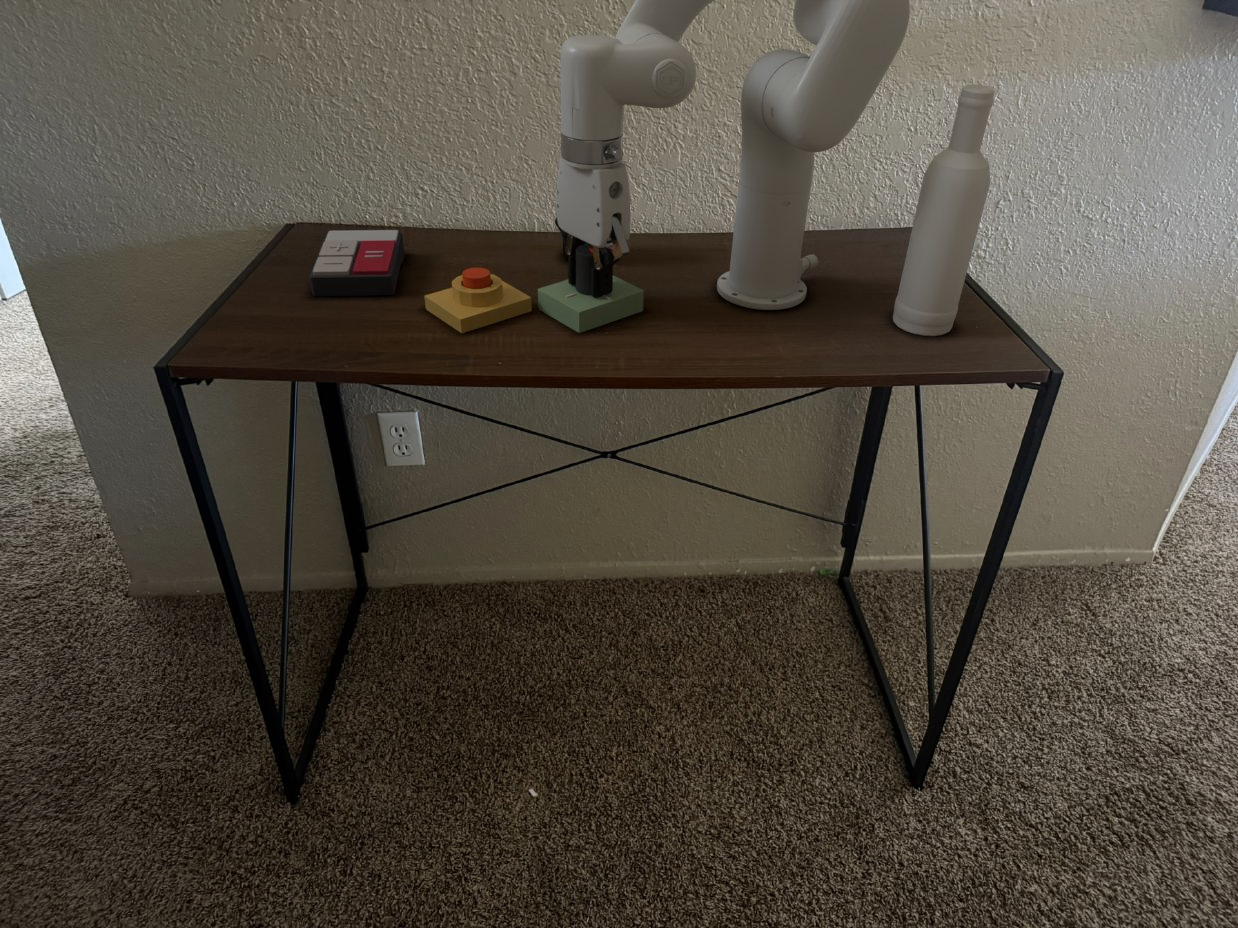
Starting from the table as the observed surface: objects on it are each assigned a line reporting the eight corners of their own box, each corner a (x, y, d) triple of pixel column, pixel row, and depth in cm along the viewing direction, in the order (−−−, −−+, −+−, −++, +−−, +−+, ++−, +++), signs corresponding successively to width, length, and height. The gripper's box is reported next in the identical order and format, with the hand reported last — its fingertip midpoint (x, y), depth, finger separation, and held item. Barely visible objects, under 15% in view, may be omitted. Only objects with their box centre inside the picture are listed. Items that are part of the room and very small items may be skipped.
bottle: (955, 340, 117) (1020, 98, 100) (893, 333, 119) (946, 93, 101) (949, 314, 124) (1009, 82, 107) (890, 308, 125) (940, 77, 108)
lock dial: (571, 286, 121) (570, 244, 118) (598, 281, 122) (598, 240, 119) (583, 297, 118) (583, 255, 115) (610, 292, 119) (611, 251, 116)
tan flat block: (494, 289, 127) (492, 262, 124) (531, 311, 121) (531, 283, 119) (425, 309, 121) (422, 281, 119) (461, 333, 115) (459, 304, 113)
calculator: (307, 272, 121) (325, 226, 132) (313, 301, 123) (330, 253, 135) (391, 271, 122) (401, 225, 134) (394, 299, 124) (405, 253, 136)
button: (481, 277, 121) (480, 265, 120) (496, 286, 119) (495, 274, 118) (458, 284, 119) (457, 271, 118) (472, 293, 117) (472, 280, 116)
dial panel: (601, 289, 128) (601, 268, 126) (643, 311, 122) (644, 289, 120) (538, 309, 122) (537, 287, 120) (579, 333, 116) (579, 311, 114)
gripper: (660, 160, 106) (653, 303, 117) (574, 128, 117) (574, 262, 127) (611, 171, 102) (608, 318, 113) (526, 137, 113) (530, 274, 123)
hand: (590, 287), depth 120 cm, fingers closed on lock dial, 4 cm apart
